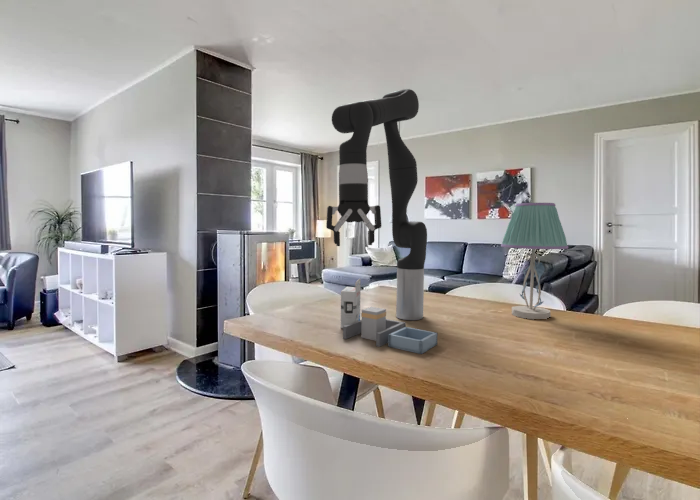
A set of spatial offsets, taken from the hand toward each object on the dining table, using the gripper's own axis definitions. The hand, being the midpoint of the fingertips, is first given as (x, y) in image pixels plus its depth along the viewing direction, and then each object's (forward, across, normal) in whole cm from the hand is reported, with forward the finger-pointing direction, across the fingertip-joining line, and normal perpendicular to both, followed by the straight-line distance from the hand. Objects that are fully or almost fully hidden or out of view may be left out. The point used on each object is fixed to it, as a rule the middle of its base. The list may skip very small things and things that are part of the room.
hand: (354, 245), depth 99 cm
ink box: (+27, -2, -18) cm, 33 cm away
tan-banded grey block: (+27, -6, -5) cm, 28 cm away
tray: (+27, -15, +3) cm, 31 cm away
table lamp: (+29, -68, -24) cm, 78 cm away
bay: (+27, -6, -5) cm, 28 cm away
